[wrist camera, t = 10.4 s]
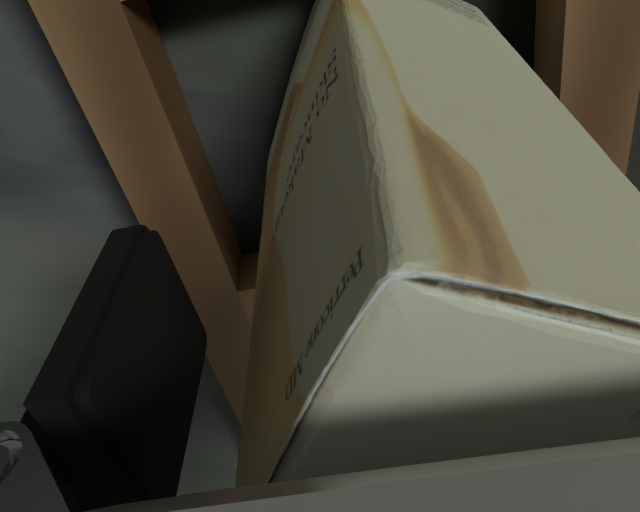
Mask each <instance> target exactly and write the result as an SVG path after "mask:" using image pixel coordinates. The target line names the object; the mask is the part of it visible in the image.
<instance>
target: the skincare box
mask: <svg viewBox="0 0 640 512" xmlns="http://www.w3.org/2000/svg"><path fill="white" fill-rule="evenodd" d="M635 437H640V192H639V191H638V190H637V189H636V187H635V186H634V185H633V184H632V183H631V182H630V181H629V180H628V179H627V178H626V177H625V175H624V174H623V173H622V172H621V171H620V170H619V168H618V167H617V166H616V165H615V164H614V163H613V162H612V160H611V159H610V158H609V157H608V156H607V154H606V153H605V152H604V151H603V150H602V148H601V147H600V146H599V145H598V144H597V143H596V142H595V140H594V139H593V138H592V137H591V136H590V134H589V133H588V132H587V131H586V130H585V129H584V128H583V127H582V125H581V124H580V123H579V122H578V121H577V120H576V119H575V118H574V116H573V115H572V114H571V113H570V112H569V111H568V109H567V108H566V107H565V106H564V105H563V104H562V103H561V102H560V101H559V99H558V98H557V97H556V96H555V95H554V94H553V92H552V91H551V90H550V89H549V88H548V87H547V86H546V85H545V84H544V82H543V81H542V80H541V79H540V77H539V76H538V75H537V74H536V73H535V72H534V71H533V70H532V69H531V67H530V66H529V65H528V64H527V63H526V62H525V61H524V59H523V58H522V57H521V56H520V55H519V54H518V53H517V51H516V50H515V49H514V48H513V47H512V46H511V45H510V44H509V43H508V41H507V40H506V39H505V38H504V37H503V36H502V35H501V33H500V32H499V31H498V30H497V29H496V28H495V27H494V25H493V24H492V23H491V22H490V21H489V20H488V19H487V17H486V16H485V15H484V14H483V13H482V12H481V11H480V10H479V9H478V8H477V7H475V6H473V5H471V4H469V3H466V2H464V1H462V0H315V2H314V5H313V7H312V10H311V13H310V16H309V19H308V22H307V25H306V28H305V31H304V34H303V37H302V40H301V44H300V47H299V50H298V53H297V56H296V60H295V63H294V66H293V69H292V72H291V75H290V79H289V82H288V86H287V89H286V93H285V97H284V100H283V104H282V108H281V111H280V115H279V119H278V122H277V126H276V130H275V133H274V137H273V141H272V144H271V148H270V151H269V156H268V165H267V176H266V185H265V197H264V207H263V220H262V231H261V239H260V248H259V258H258V269H257V279H256V289H255V299H254V308H253V317H252V328H251V338H250V348H249V358H248V367H247V377H246V387H245V397H244V406H243V415H242V425H241V435H240V446H239V455H238V464H237V473H236V484H235V488H237V487H245V486H253V485H260V484H268V483H276V482H284V481H291V480H299V479H307V478H314V477H322V476H330V475H338V474H345V473H353V472H361V471H369V470H376V469H384V468H392V467H400V466H408V465H416V464H424V463H432V462H440V461H448V460H456V459H464V458H472V457H480V456H488V455H496V454H504V453H512V452H520V451H528V450H536V449H544V448H553V447H561V446H569V445H577V444H585V443H593V442H601V441H609V440H618V439H626V438H635Z"/></svg>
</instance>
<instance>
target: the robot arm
mask: <svg viewBox="0 0 640 512" xmlns="http://www.w3.org/2000/svg"><path fill="white" fill-rule="evenodd" d="M206 348H207V336H206V331H205V328H204V326H203V324H202V322H201V320H200V318H199V316H198V313H197V311H196V309H195V307H194V305H193V303H192V301H191V299H190V297H189V295H188V292H187V290H186V288H185V286H184V284H183V282H182V280H181V278H180V276H179V274H178V271H177V269H176V267H175V265H174V263H173V261H172V259H171V257H170V255H169V253H168V250H167V248H166V246H165V244H164V242H163V240H162V238H161V236H160V234H159V233H158V232H157V231H156V230H152V231H150V230H149V229H148V228H147V227H146V226H145V225H137V226H132V227H126V228H121V229H116V230H113V231H112V232H111V233H110V235H109V237H108V239H107V241H106V243H105V245H104V247H103V249H102V251H101V253H100V255H99V257H98V259H97V260H96V262H95V264H94V266H93V268H92V270H91V272H90V274H89V276H88V278H87V280H86V282H85V284H84V286H83V288H82V290H81V292H80V294H79V296H78V298H77V300H76V302H75V304H74V306H73V308H72V310H71V312H70V313H69V315H68V317H67V319H66V321H65V323H64V325H63V327H62V329H61V331H60V333H59V335H58V337H57V339H56V341H55V343H54V345H53V347H52V349H51V351H50V353H49V355H48V357H47V359H46V361H45V363H44V365H43V366H42V368H41V370H40V372H39V374H38V376H37V378H36V380H35V382H34V384H33V386H32V388H31V390H30V392H29V394H28V396H27V398H26V400H25V402H24V404H23V405H24V407H25V408H26V411H25V413H24V415H23V417H22V419H21V421H20V423H19V422H15V421H9V422H0V512H640V437H635V438H626V439H618V440H609V441H601V442H593V443H585V444H577V445H569V446H561V447H553V448H544V449H536V450H528V451H520V452H512V453H504V454H496V455H488V456H480V457H472V458H464V459H456V460H448V461H440V462H432V463H424V464H416V465H408V466H400V467H392V468H384V469H376V470H369V471H361V472H353V473H345V474H338V475H330V476H322V477H314V478H307V479H299V480H291V481H284V482H276V483H268V484H260V485H253V486H245V487H237V488H230V489H222V490H215V491H208V492H201V493H194V494H188V495H181V496H176V493H177V489H178V484H179V479H180V474H181V469H182V464H183V460H184V455H185V450H186V445H187V440H188V435H189V431H190V426H191V421H192V416H193V411H194V406H195V402H196V397H197V392H198V387H199V382H200V377H201V373H202V368H203V363H204V358H205V353H206Z"/></svg>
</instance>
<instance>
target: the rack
mask: <svg viewBox="0 0 640 512" xmlns="http://www.w3.org/2000/svg"><path fill="white" fill-rule="evenodd" d="M28 2H29V4H30V6H31V8H32V10H33V12H34V14H35V16H36V18H37V20H38V22H39V24H40V26H41V28H42V30H43V32H44V34H45V36H46V38H47V40H48V42H49V44H50V46H51V48H52V50H53V52H54V54H55V56H56V58H57V60H58V62H59V64H60V66H61V68H62V70H63V72H64V74H65V76H66V78H67V80H68V82H69V84H70V86H71V88H72V90H73V92H74V94H75V96H76V98H77V100H78V102H79V104H80V106H81V108H82V110H83V112H84V114H85V116H86V118H87V120H88V122H89V124H90V126H91V128H92V130H93V132H94V134H95V136H96V138H97V140H98V142H99V144H100V146H101V148H102V150H103V152H104V154H105V156H106V158H107V160H108V162H109V164H110V166H111V168H112V170H113V172H114V174H115V176H116V178H117V180H118V182H119V184H120V186H121V188H122V190H123V192H124V194H125V196H126V198H127V200H128V201H129V203H130V205H131V207H132V209H133V211H134V213H135V215H136V217H137V219H138V221H139V223H140V225H145V226H146V227H147V228H148V229H149V230H150V231H152V230H156V231H157V232H158V233H159V234H160V236H161V238H162V240H163V242H164V244H165V246H166V248H167V250H168V253H169V255H170V257H171V259H172V261H173V263H174V265H175V267H176V269H177V271H178V274H179V276H180V278H181V280H182V282H183V284H184V286H185V288H186V290H187V292H188V295H189V297H190V299H191V301H192V303H193V305H194V307H195V309H196V311H197V313H198V316H199V318H200V320H201V322H202V324H203V326H204V328H205V331H206V336H207V348H206V353H205V355H206V357H207V359H208V361H209V363H210V365H211V367H212V369H213V371H214V373H215V375H216V377H217V379H218V381H219V383H220V385H221V387H222V389H223V391H224V393H225V395H226V397H227V399H228V401H229V403H230V405H231V407H232V409H233V411H234V413H235V415H236V417H237V419H238V421H239V423H240V425H242V415H243V406H244V397H245V387H246V377H247V367H248V358H249V348H250V338H251V328H252V317H253V308H254V299H255V289H256V279H257V269H258V258H259V252H253V253H248V254H242V252H241V249H240V246H239V244H238V241H237V238H236V236H235V233H234V230H233V228H232V225H231V222H230V220H229V217H228V214H227V212H226V209H225V206H224V204H223V201H222V198H221V196H220V193H219V190H218V188H217V185H216V182H215V180H214V177H213V174H212V172H211V169H210V166H209V164H208V161H207V158H206V156H205V153H204V150H203V148H202V145H201V142H200V140H199V137H198V134H197V132H196V129H195V126H194V124H193V121H192V119H191V116H190V113H189V111H188V108H187V105H186V103H185V100H184V97H183V95H182V92H181V89H180V87H179V84H178V81H177V79H176V76H175V73H174V71H173V68H172V65H171V63H170V60H169V57H168V55H167V52H166V49H165V47H164V44H163V41H162V39H161V36H160V33H159V31H158V28H157V25H156V23H155V20H154V17H153V15H152V12H151V9H150V7H149V4H148V1H147V0H28ZM534 72H535V73H536V74H537V75H538V76H539V77H540V79H541V80H542V81H543V82H544V84H545V85H546V86H547V87H548V88H549V89H550V90H551V91H552V92H553V94H554V95H555V96H556V97H557V98H558V99H559V101H560V102H561V103H562V104H563V105H564V106H565V107H566V108H567V109H568V111H569V112H570V113H571V114H572V115H573V116H574V118H575V119H576V120H577V121H578V122H579V123H580V124H581V125H582V127H583V128H584V129H585V130H586V131H587V132H588V133H589V134H590V136H591V137H592V138H593V139H594V140H595V142H596V143H597V144H598V145H599V146H600V147H601V148H602V150H603V151H604V152H605V153H606V154H607V156H608V157H609V158H610V159H611V160H612V162H613V163H614V164H615V165H616V166H617V167H618V168H619V170H620V171H621V172H622V173H623V174H624V175H625V177H626V172H627V165H628V159H629V153H630V146H631V140H632V134H633V127H634V121H635V115H636V109H637V102H638V96H639V90H640V0H536V19H535V48H534Z"/></svg>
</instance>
